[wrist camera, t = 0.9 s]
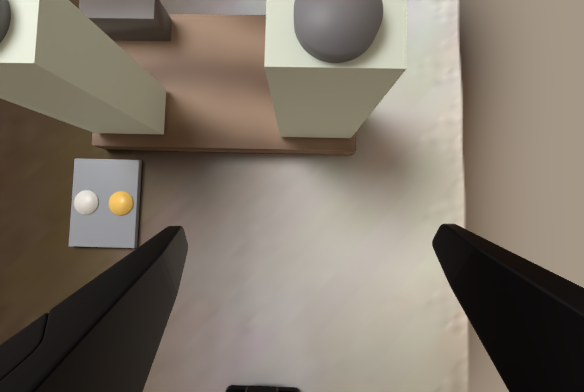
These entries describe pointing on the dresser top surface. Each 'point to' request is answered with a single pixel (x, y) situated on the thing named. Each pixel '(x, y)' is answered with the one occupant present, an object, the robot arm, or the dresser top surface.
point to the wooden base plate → (202, 81)
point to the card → (105, 203)
